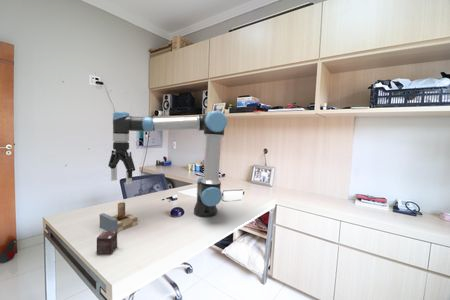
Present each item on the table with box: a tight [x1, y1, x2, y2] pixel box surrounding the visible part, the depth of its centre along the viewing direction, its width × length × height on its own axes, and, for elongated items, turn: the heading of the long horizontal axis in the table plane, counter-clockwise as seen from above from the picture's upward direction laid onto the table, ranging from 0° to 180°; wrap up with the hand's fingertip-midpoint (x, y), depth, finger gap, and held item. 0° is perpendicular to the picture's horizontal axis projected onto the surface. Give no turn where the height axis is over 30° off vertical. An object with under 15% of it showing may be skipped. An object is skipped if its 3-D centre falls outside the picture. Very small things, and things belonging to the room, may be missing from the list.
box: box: [96, 230, 118, 256], centre depth 89 cm, size 6×6×7 cm
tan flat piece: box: [111, 211, 138, 233], centre depth 111 cm, size 12×12×4 cm
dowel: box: [117, 201, 126, 221], centre depth 111 cm, size 4×4×12 cm
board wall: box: [99, 213, 119, 234], centre depth 115 cm, size 15×28×8 cm, turn 148°
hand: (121, 182), depth 110 cm, fingers open, 13 cm apart
